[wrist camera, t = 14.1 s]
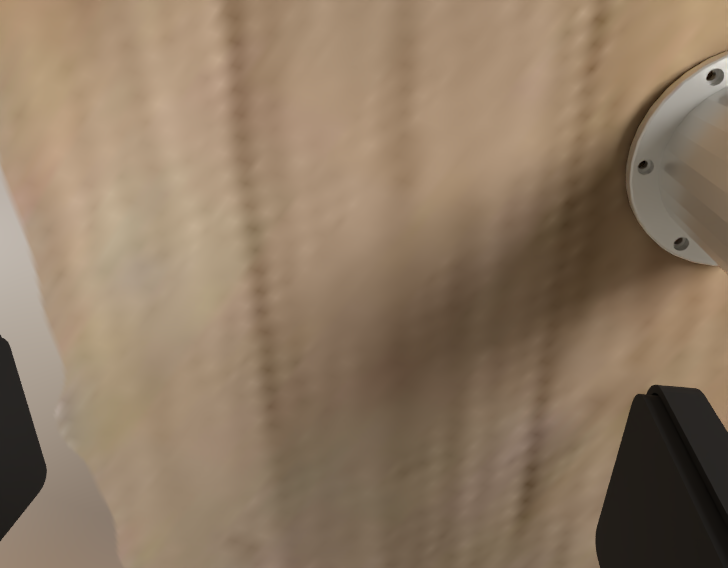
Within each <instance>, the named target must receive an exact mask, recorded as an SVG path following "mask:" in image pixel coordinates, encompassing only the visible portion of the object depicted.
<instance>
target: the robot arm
mask: <svg viewBox="0 0 728 568" xmlns="http://www.w3.org/2000/svg"><path fill="white" fill-rule="evenodd" d="M711 70H712V72H713V75H712V77H711V78H710V79H708V80H706V77H707V75H708V73H709V72H710V71H711ZM643 160H645V164H644V165H643V166H642V167H638V165H639V163H641V162H642V161H643ZM626 190H627V194H628V199H629V203H630V207H631V209H632V211H633V213H634V215H635V217H636V219H637V221H638V223H639V224H640V225H641V226H642V228H643V229H644V230H645V232H646V233H647V234H648V235H649V236H650V237H651V238H652V239H653V240H654V241H655V242H656V243H657V244H658V245H659V246H660V247H662V248H663V249H665V250H666V251H668V252H669V253H671V254H673V255H675V256H677V257H680V258H682V259H685V260H688V261H691V262H693V263H699V264H705V265H711V266H720V267H721V268H722V269H723V270H724V271H725V272H726V273H727V274H728V51H726V52H723V53H721V54H718V55H716V56H713V57H711V58H709V59H707V60H705V61H704V62H702V63H700V64H699V65H697V66H695V67H694V68H692V69H691V70H689V71H687V72H686V73H685V74H683V75H682V76H681V77H680V78H679V79H678V80H676V81H675V82H674V83H673V84H672V85H670V86H669V87H668V88H667V89H666V90H665V91H664V92H663V94H662V95H661V96H660V97H659V98H658V99H657V101H656V102H655V103H654V104H653V105H652V106H651V107H650V109H649V111H648V112H647V114H646V116H645V117H644V119H643V120H642V122H641V124H640V125H639V127H638V129H637V132H636V134H635V137H634V139H633V142H632V144H631V147H630V150H629V155H628V160H627V165H626ZM678 238H680V239H679V240H678V241H675V240H677V239H678ZM46 473H47V469H46V464H45V461H44V457H43V454H42V451H41V447H40V444H39V441H38V438H37V434H36V431H35V428H34V424H33V421H32V418H31V414H30V411H29V408H28V404H27V401H26V398H25V394H24V391H23V388H22V384H21V381H20V378H19V375H18V371H17V368H16V365H15V361H14V358H13V355H12V351H11V348H10V345H9V343H8V342H7V341H6V340H5V339H4V338H2V337H1V335H0V541H1V539H2V538H3V537H4V536H5V535H6V533H7V532H8V531H9V530H10V528H11V527H12V526H13V525H14V523H15V522H16V521H17V520H18V518H19V517H20V516H21V514H22V513H23V512H24V511H25V509H26V508H27V507H28V506H29V504H30V503H31V502H32V501H33V499H34V498H35V497H36V496H37V494H38V493H39V492H40V490H41V489H42V487H43V485H44V482H45V479H46ZM596 552H597V557H598V561H599V565H600V568H728V432H727V431H726V429H725V427H724V426H723V424H722V423H721V421H720V419H719V418H718V416H717V415H716V413H715V411H714V410H713V408H712V406H711V405H710V403H709V402H708V400H707V398H706V397H705V395H704V394H703V393H702V392H701V391H700V390H698V389H696V388H685V387H674V386H662V385H653V386H651V387H650V389H649V390H648V392H647V394H646V395H645V394H638V395H636V396H635V397H634V399H633V402H632V405H631V409H630V412H629V416H628V419H627V423H626V426H625V430H624V433H623V437H622V441H621V444H620V448H619V451H618V455H617V458H616V462H615V465H614V469H613V472H612V476H611V479H610V483H609V486H608V490H607V493H606V497H605V500H604V504H603V508H602V511H601V515H600V518H599V522H598V525H597V529H596Z"/></svg>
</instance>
